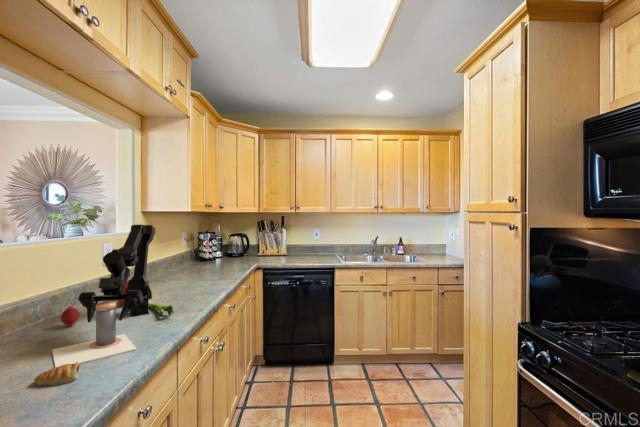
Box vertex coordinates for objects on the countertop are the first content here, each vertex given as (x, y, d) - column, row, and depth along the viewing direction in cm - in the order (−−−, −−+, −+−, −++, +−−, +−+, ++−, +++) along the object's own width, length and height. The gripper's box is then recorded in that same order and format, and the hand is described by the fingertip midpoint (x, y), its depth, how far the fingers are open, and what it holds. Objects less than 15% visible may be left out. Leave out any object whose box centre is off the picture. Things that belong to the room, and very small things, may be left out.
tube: (109, 338, 111) (109, 300, 111) (120, 341, 108) (120, 302, 108) (91, 344, 105) (91, 305, 105) (102, 347, 103) (102, 307, 103)
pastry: (30, 391, 79) (30, 375, 79) (39, 378, 85) (39, 364, 85) (77, 382, 83) (77, 367, 83) (82, 371, 89) (82, 357, 89)
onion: (69, 329, 120) (69, 308, 120) (56, 328, 121) (56, 307, 121) (83, 324, 126) (83, 303, 126) (71, 323, 127) (71, 303, 127)
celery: (154, 307, 155) (178, 317, 134) (139, 313, 150) (161, 323, 129) (152, 295, 155) (176, 303, 134) (136, 300, 150) (159, 308, 129)
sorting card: (124, 334, 115) (124, 333, 115) (136, 349, 103) (136, 348, 103) (52, 350, 102) (52, 349, 102) (55, 370, 89) (55, 368, 89)
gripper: (80, 268, 109) (62, 310, 98) (141, 267, 113) (129, 307, 102) (91, 286, 116) (75, 327, 106) (147, 284, 121) (137, 323, 110)
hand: (104, 321), depth 106 cm, fingers open, 9 cm apart
